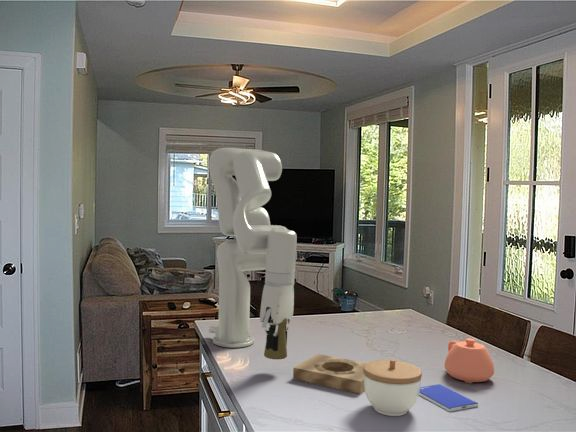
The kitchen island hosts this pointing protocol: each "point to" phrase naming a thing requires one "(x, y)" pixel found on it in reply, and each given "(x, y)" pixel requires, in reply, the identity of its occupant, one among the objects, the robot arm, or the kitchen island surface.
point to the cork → (282, 348)
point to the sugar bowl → (469, 361)
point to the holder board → (332, 373)
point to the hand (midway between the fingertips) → (276, 346)
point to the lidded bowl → (391, 386)
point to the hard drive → (446, 398)
